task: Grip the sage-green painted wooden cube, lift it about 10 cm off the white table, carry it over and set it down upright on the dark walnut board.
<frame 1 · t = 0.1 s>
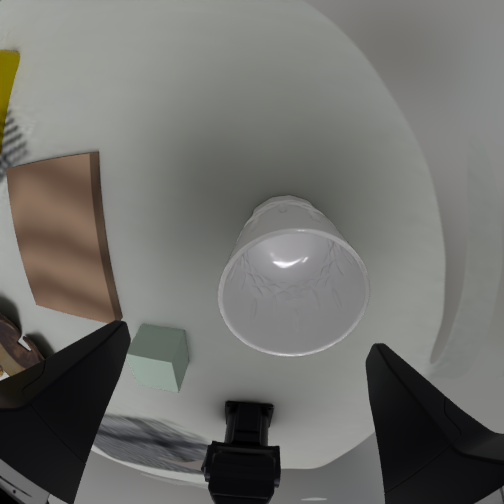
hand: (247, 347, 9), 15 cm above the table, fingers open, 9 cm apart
walnut board: (59, 240, 24), on the table
white cup: (285, 233, 23), on the table
sage cube: (166, 343, 29), on the table
oil lamp: (32, 353, 35), on the table
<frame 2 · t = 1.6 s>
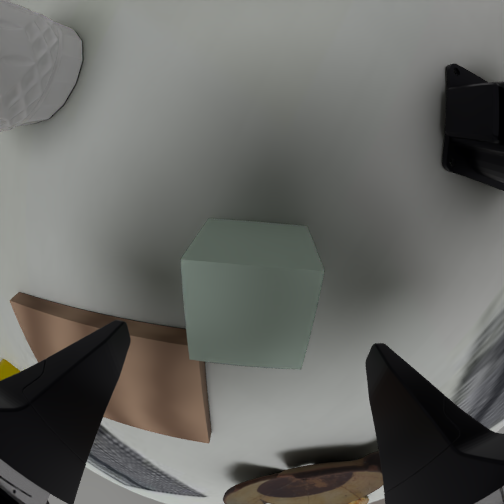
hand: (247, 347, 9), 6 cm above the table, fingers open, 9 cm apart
walnut board: (110, 373, 20), on the table
white cup: (48, 74, 10), on the table
sage cube: (254, 265, 15), on the table
element tile: (45, 402, 28), on the table
oil lamp: (325, 468, 27), on the table
bread roll: (347, 500, 39), on the table
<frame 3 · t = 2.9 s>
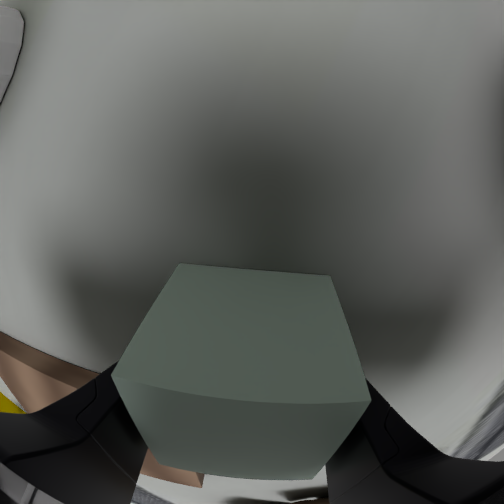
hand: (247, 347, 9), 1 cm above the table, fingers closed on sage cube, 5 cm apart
walnut board: (87, 416, 15), on the table
sage cube: (249, 329, 10), on the table, touching gripper
element tile: (33, 424, 23), on the table
oil lamp: (328, 498, 22), on the table
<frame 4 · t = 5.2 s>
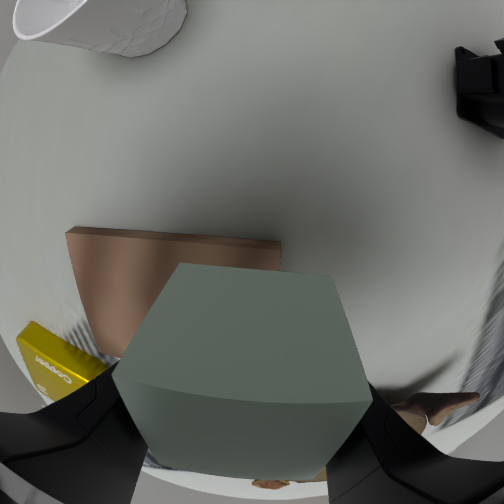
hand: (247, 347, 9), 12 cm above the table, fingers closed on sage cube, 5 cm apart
walnut board: (169, 306, 23), on the table
white cup: (146, 21, 13), on the table
sage cube: (250, 328, 10), point 10 cm above the table, touching gripper
element tile: (73, 369, 31), on the table
oil lamp: (362, 422, 30), on the table
shard: (265, 477, 43), on the table
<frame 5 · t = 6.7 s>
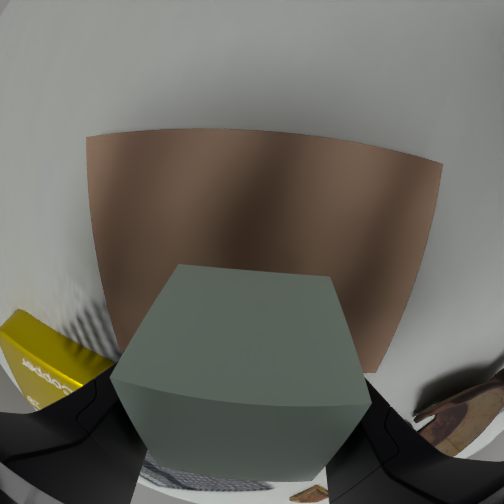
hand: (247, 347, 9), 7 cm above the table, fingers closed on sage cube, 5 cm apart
walnut board: (255, 264, 15), on the table
sage cube: (249, 330, 10), point 6 cm above the table, touching gripper
element tile: (75, 376, 23), on the table
oil lamp: (439, 414, 22), on the table
shard: (306, 490, 34), on the table
when the fingers open (4 cm above the table, at t = 8.0 s): sage cube drops 1 cm, resting on walnut board.
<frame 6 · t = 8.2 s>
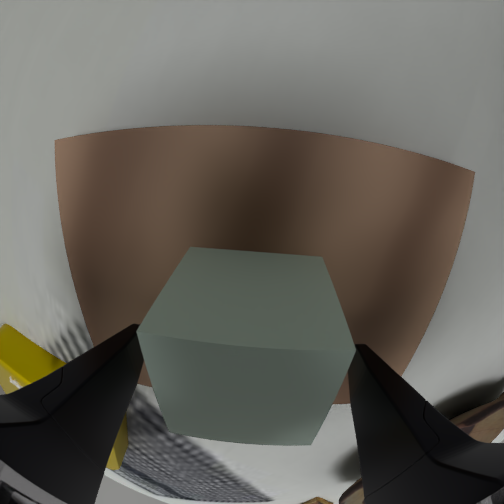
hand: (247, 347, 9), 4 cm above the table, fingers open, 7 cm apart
walnut board: (253, 288, 13), on the table
sage cube: (252, 306, 11), point 1 cm above the table, touching walnut board
element tile: (66, 392, 20), on the table
oil lamp: (446, 429, 20), on the table
shard: (307, 501, 32), on the table
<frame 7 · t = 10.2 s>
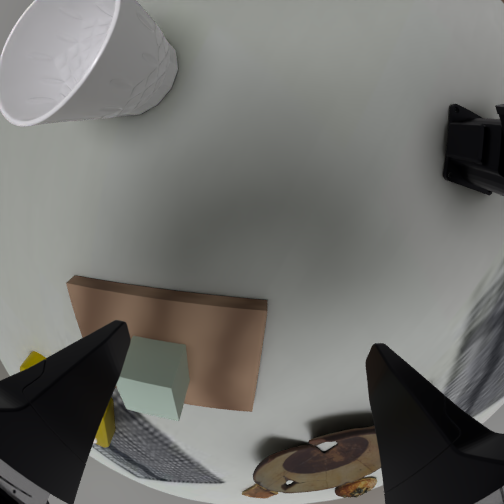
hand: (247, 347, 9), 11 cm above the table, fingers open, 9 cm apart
walnut board: (166, 349, 24), on the table
white cup: (136, 74, 15), on the table
sage cube: (162, 359, 23), point 1 cm above the table, touching walnut board
element tile: (74, 393, 31), on the table
oil lamp: (343, 440, 32), on the table
shard: (254, 487, 44), on the table
bread roll: (356, 482, 44), on the table
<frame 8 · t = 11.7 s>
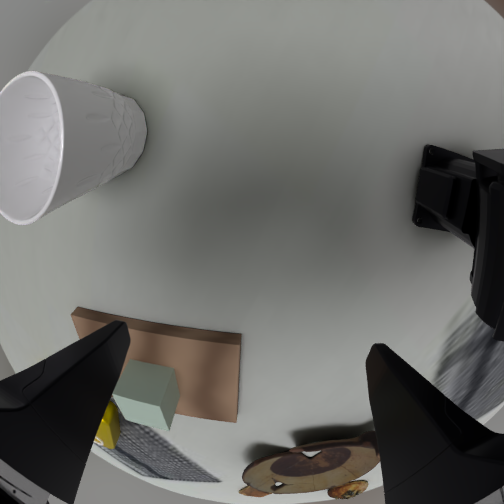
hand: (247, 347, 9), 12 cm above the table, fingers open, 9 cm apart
walnut board: (159, 369, 27), on the table
white cup: (111, 135, 18), on the table
sage cube: (155, 378, 26), point 1 cm above the table, touching walnut board
element tile: (83, 401, 35), on the table
oil lamp: (327, 448, 34), on the table
shard: (250, 486, 47), on the table
bread roll: (348, 484, 46), on the table
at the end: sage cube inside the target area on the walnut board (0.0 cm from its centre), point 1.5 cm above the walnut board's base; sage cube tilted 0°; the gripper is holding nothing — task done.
